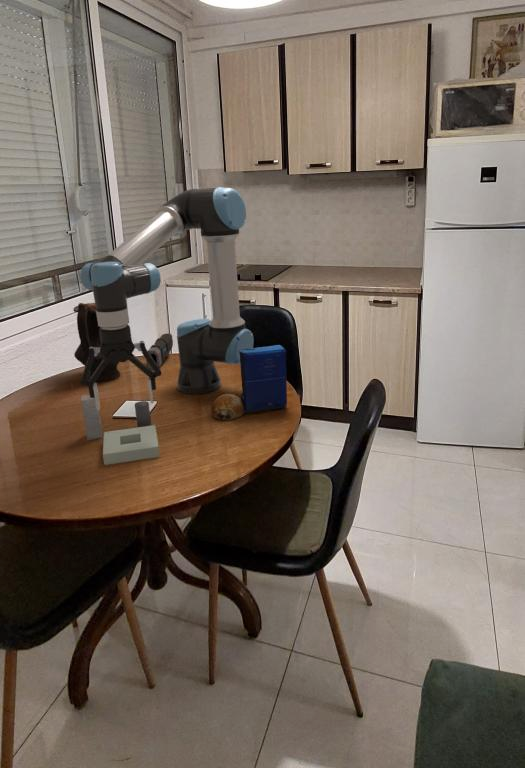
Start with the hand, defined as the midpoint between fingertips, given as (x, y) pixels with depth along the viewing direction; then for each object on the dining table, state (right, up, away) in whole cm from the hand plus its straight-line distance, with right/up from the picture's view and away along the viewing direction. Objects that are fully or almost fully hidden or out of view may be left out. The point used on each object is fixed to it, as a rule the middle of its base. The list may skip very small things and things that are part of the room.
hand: (125, 405), depth 145 cm
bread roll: (+25, -4, +23) cm, 35 cm away
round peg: (+2, -8, +16) cm, 18 cm away
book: (+36, -3, +26) cm, 44 cm away
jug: (-23, +8, +61) cm, 66 cm away
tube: (-5, +16, +81) cm, 82 cm away
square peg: (-12, -9, +13) cm, 20 cm away
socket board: (+1, -12, +4) cm, 13 cm away
